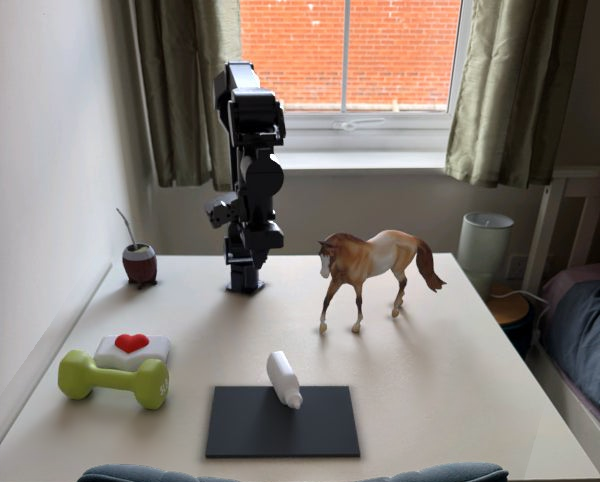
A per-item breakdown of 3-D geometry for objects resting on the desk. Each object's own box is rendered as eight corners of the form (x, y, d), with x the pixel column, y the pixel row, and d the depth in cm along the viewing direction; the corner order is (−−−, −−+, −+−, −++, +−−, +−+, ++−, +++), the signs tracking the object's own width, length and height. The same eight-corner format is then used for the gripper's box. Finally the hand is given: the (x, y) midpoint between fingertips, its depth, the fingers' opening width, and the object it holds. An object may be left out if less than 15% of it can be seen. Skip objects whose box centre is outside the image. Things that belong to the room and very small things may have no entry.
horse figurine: (319, 350, 109) (324, 241, 97) (296, 332, 114) (298, 226, 102) (443, 309, 123) (461, 209, 111) (417, 295, 128) (432, 198, 116)
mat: (215, 389, 98) (214, 386, 98) (348, 388, 99) (348, 385, 99) (205, 458, 84) (205, 455, 84) (360, 457, 85) (360, 454, 85)
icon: (85, 355, 98) (99, 325, 106) (90, 377, 100) (104, 346, 108) (161, 355, 98) (169, 325, 106) (164, 377, 101) (171, 346, 109)
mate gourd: (155, 290, 127) (146, 221, 118) (118, 289, 127) (106, 220, 118) (162, 275, 133) (154, 208, 124) (127, 274, 133) (116, 207, 124)
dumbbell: (175, 390, 98) (171, 352, 93) (157, 419, 91) (151, 380, 87) (82, 378, 100) (73, 340, 96) (57, 405, 94) (47, 367, 89)
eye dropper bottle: (295, 355, 98) (319, 396, 89) (279, 382, 100) (300, 424, 91) (272, 347, 96) (294, 388, 87) (256, 375, 98) (276, 418, 89)
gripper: (201, 164, 102) (207, 251, 112) (210, 198, 88) (216, 295, 97) (265, 162, 104) (266, 247, 114) (284, 195, 90) (284, 290, 99)
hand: (257, 268), depth 106 cm, fingers closed
